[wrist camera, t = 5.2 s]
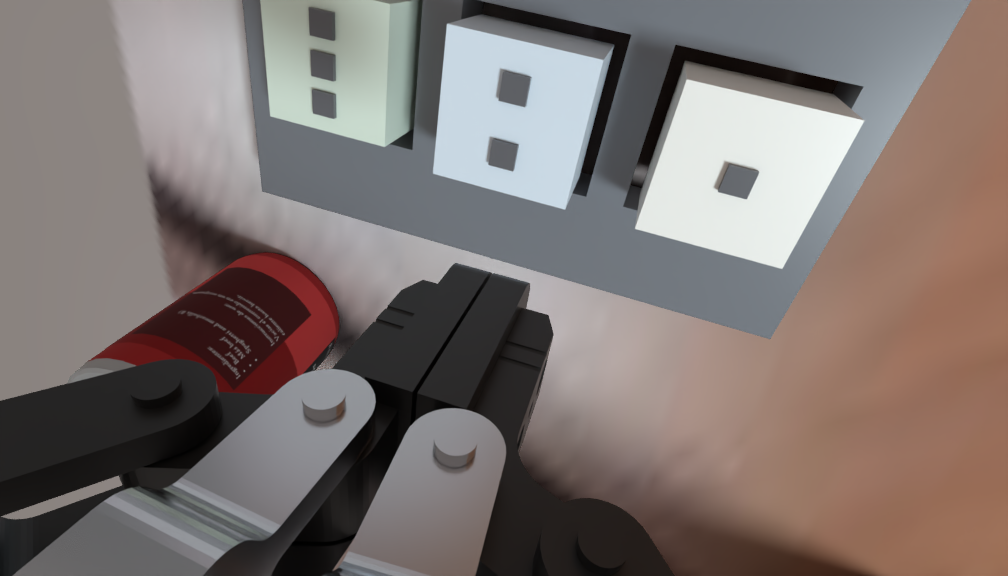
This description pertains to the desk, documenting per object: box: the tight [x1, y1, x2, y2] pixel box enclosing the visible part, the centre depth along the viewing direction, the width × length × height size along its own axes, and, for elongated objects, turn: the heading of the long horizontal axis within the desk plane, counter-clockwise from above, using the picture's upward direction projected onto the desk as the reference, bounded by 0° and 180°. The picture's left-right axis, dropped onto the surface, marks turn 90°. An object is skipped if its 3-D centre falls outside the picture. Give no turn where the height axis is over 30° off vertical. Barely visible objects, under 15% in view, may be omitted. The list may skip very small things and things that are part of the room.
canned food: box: [67, 252, 339, 394], centre depth 28 cm, size 8×8×11 cm
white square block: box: [635, 61, 865, 269], centre depth 18 cm, size 5×5×4 cm
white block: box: [260, 0, 423, 147], centre depth 21 cm, size 5×5×4 cm
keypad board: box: [242, 0, 971, 339], centre depth 21 cm, size 24×14×2 cm, turn 80°
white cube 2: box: [433, 14, 614, 210], centre depth 19 cm, size 5×5×4 cm
